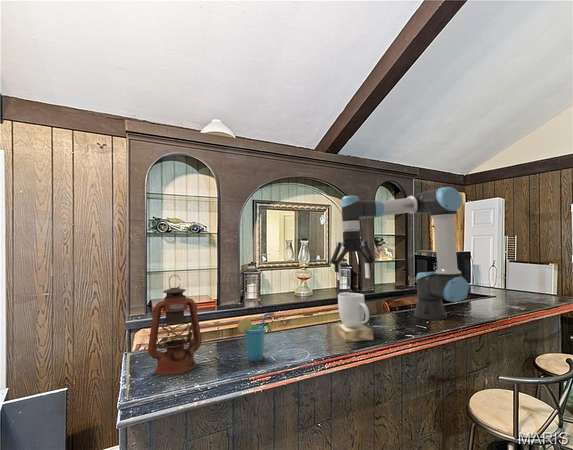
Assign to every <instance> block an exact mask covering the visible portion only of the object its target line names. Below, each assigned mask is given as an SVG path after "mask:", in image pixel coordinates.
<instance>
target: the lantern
mask: <svg viewBox="0 0 573 450" xmlns="http://www.w3.org/2000/svg"><path fill="white" fill-rule="evenodd" d="M173 277H178V279H179V280H181V278H180V276H179V275H177V274H173V275H171V276H170V277H169V279H168V286H169V288H168V289H167V288H166V289H164V290H162V293H163V294H166V296H165V297H164V298H163V300H161V301H158V302H157V303H156V304H155V306H154V308H153V309H152V311H151V316H152V321H151V327H150V330H149V331H150V333H149V339H148V345H147V350H148V351H147V353H148V355H149V356H150V357H151V358H152V359H154V360H156V365H155V368H154V373H155V374H157V375H159V376H177V375H182V374H185V373H188V372H190V371H192V370H194V369H195V368H196V367H197V362H196V361H195V352H197V351H198V350H199V349H200V347H201V346H202V345H201V344H202V342H203V341H202V333H201V328H200V327H201V326H200V323H199V322H200V321H199V315H198V311H197V309H198V305H197V304H196V302H195V300H194V299H193V298H188V297H187V295H185V294H184V293H185V292H186V291H187V289H185V288H180V287H181V284H179V286H177V287H171V284H170V281H171V280H170V279H171V278H173ZM188 309H189V314H190V315H189V316H190V324H189V323H187V320H188V319H187V317H186V316H185V311H187V310H188ZM162 313H165V318H164V319H163V321H162V322H163V324H161V327H160V321H161V317H162V316H161V315H162ZM180 323H181V324H180ZM166 324H167V325H166ZM169 324H170V325H171V324H173V325H174V324H178V325H177V326H175V327H171V326H169ZM179 324H180V325H179ZM183 325H187V326H186V327H185V328H184V330H183V331H182V332H181V333H179V332H178V333H176V332H177V331H176V329H177V328H179V327H181V326H183ZM160 328H161V329H162V330H163V331H165V332H167V334H166V336H165V339H164V340H163V344H162V345H161V344H160V341H159V339H158V337H159V335H158V334H159V330H160ZM168 328H169V329H170V330H169V329H168ZM187 330H188V331H187ZM173 331H174V332H173ZM185 331H187V332H188V333H187V335H186V339H185V338H184V336H183V334H184V333H185ZM169 334H172V335H174V336H175V337H174V338H172V339H171V340H168V341H166V339H167V336H169ZM178 337H179V339H177V338H178ZM187 344H188V347H185V345H187ZM157 346H158V348H159V349H165V350H166V351H158V349H157Z"/></svg>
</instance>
